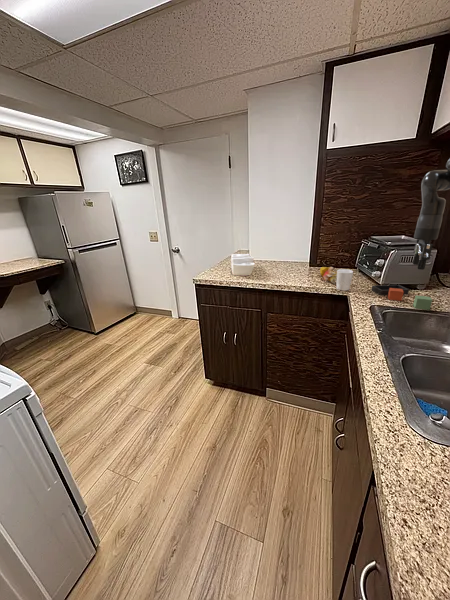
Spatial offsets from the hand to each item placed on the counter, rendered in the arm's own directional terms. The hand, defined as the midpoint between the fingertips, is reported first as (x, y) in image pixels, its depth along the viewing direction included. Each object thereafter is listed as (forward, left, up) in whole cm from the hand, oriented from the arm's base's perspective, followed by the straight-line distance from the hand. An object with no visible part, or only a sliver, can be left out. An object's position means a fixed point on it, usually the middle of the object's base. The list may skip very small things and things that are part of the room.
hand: (418, 266), depth 103 cm
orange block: (+4, -9, -18) cm, 21 cm away
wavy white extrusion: (+95, -38, -18) cm, 104 cm away
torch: (+36, -34, -18) cm, 53 cm away
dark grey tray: (+5, -19, -18) cm, 27 cm away
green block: (-5, -1, -18) cm, 19 cm away
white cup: (+27, -17, -18) cm, 37 cm away
